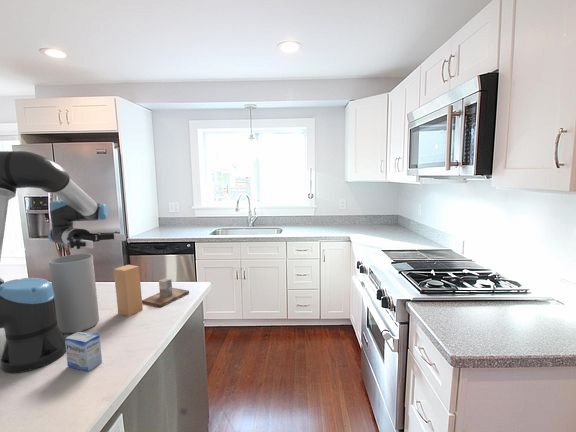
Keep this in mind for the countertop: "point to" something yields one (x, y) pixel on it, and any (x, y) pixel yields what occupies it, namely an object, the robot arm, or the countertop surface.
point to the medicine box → (83, 351)
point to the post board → (165, 300)
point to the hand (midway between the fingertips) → (109, 241)
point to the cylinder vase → (74, 292)
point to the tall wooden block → (128, 289)
